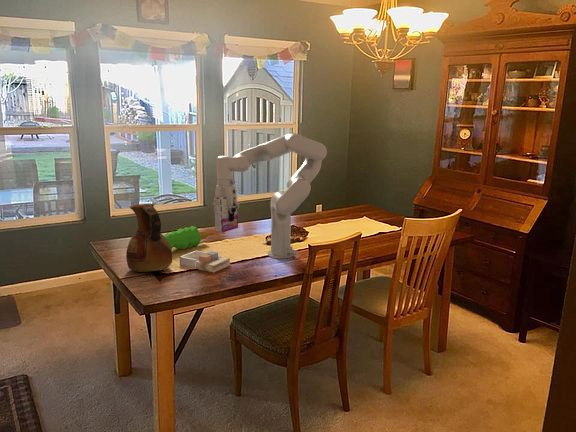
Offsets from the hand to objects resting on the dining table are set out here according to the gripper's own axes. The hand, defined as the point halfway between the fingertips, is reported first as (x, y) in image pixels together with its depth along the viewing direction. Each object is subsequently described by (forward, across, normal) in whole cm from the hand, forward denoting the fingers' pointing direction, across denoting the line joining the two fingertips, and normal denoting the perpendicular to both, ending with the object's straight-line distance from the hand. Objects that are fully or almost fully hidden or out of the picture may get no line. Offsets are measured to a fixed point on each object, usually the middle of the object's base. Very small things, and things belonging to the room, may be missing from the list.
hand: (226, 220), depth 242 cm
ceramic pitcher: (+18, +18, +32) cm, 42 cm away
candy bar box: (+5, 0, 0) cm, 5 cm away
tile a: (+15, 0, +12) cm, 19 cm away
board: (+19, -2, +14) cm, 24 cm away
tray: (+18, +8, +14) cm, 25 cm away
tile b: (+15, 0, +17) cm, 23 cm away
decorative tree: (+19, +28, 0) cm, 34 cm away
